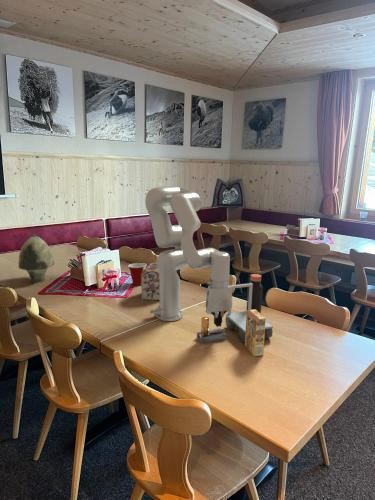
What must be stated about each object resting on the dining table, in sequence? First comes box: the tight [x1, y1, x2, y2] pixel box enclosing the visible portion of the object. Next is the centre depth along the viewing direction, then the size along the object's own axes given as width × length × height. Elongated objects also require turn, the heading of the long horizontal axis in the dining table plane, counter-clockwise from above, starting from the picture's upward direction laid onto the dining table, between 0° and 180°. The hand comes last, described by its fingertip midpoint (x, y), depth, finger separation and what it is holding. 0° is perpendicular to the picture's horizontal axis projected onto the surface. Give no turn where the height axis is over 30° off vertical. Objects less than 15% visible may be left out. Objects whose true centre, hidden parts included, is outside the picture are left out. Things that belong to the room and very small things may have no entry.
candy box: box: [244, 309, 267, 357], centre depth 141 cm, size 9×4×15 cm, turn 16°
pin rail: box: [196, 331, 227, 344], centre depth 151 cm, size 11×5×2 cm, turn 110°
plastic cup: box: [127, 262, 148, 287], centre depth 215 cm, size 11×11×12 cm
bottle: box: [245, 273, 264, 315], centre depth 173 cm, size 7×7×20 cm
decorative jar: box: [140, 262, 159, 301], centre depth 195 cm, size 12×12×18 cm
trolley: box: [225, 282, 274, 343], centre depth 155 cm, size 13×18×19 cm
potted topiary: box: [18, 231, 55, 283], centre depth 217 cm, size 19×20×30 cm
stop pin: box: [199, 316, 225, 339], centre depth 151 cm, size 10×3×8 cm, turn 110°
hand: (217, 325), depth 151 cm, fingers closed
